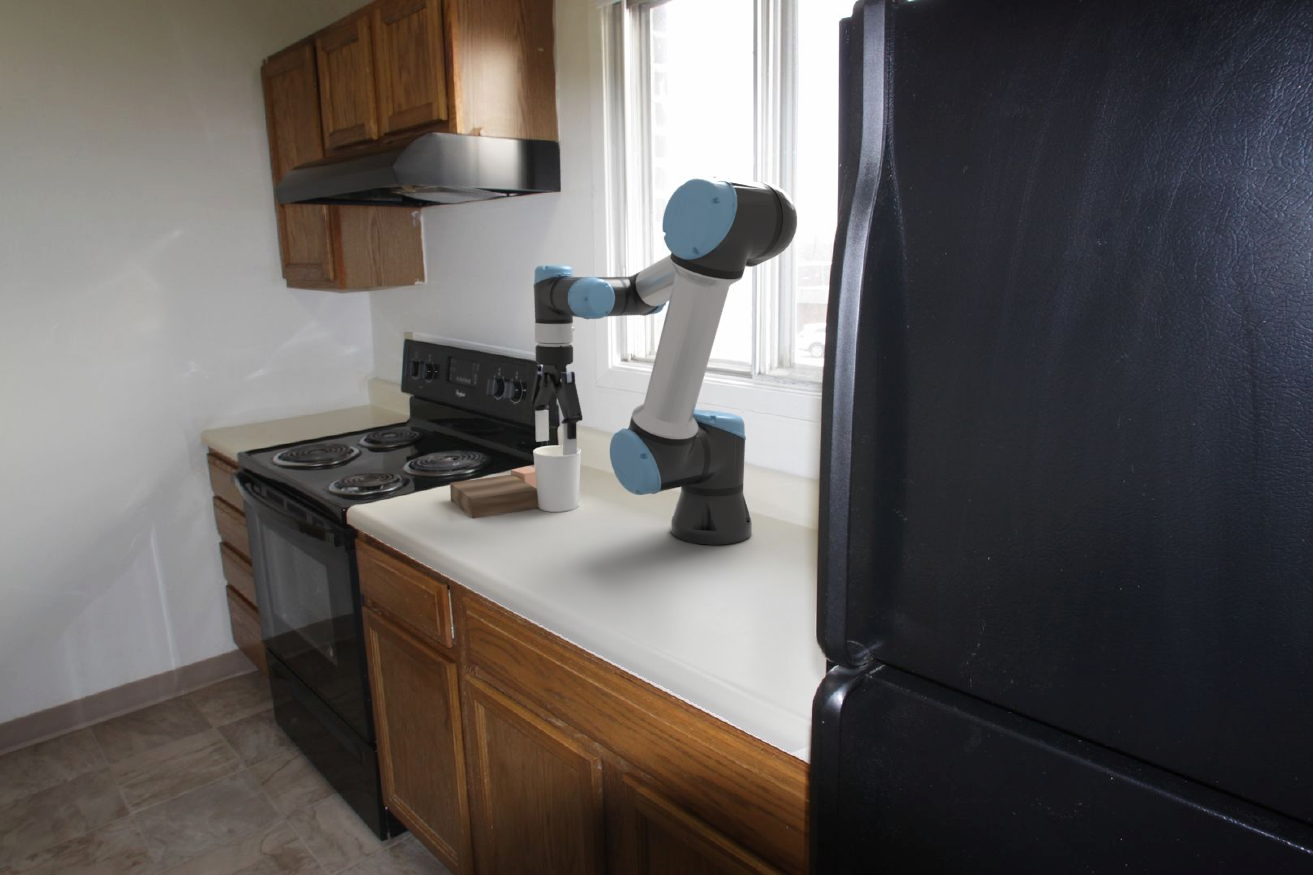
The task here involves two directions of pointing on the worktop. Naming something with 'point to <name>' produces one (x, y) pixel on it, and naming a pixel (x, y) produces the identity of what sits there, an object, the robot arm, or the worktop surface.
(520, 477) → the terracotta cube
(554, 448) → the white cup
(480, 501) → the walnut slab
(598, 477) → the worktop surface
